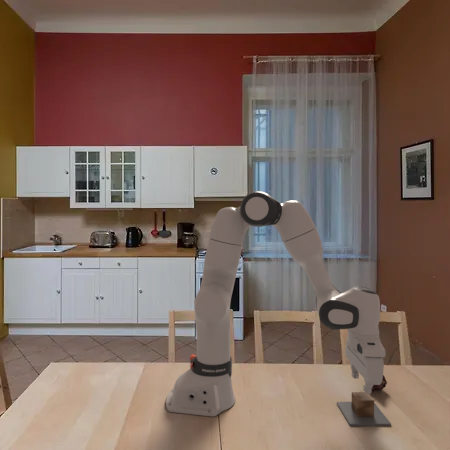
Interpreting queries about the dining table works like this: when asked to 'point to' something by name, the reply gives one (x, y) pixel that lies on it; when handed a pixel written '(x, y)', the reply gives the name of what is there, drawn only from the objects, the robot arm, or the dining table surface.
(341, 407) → the coaster
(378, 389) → the icecream
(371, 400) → the cube
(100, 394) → the dining table surface
